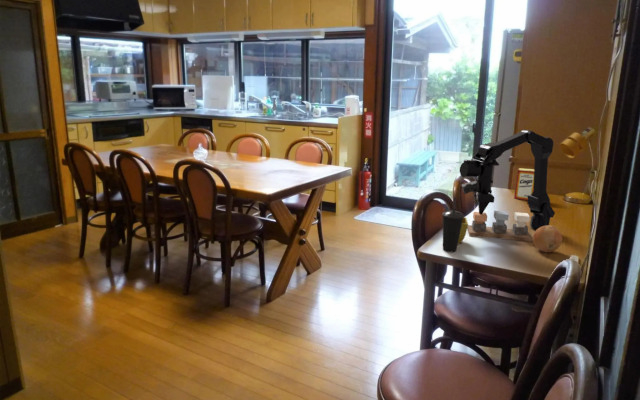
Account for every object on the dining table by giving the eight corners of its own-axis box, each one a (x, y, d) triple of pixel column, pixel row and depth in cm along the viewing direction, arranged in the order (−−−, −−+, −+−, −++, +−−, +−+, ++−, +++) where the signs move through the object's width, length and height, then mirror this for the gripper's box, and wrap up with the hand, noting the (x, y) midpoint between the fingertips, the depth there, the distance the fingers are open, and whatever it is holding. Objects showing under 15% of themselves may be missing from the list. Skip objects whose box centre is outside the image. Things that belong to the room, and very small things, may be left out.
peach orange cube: (484, 225, 197) (485, 212, 196) (485, 228, 192) (487, 215, 191) (472, 224, 198) (473, 211, 197) (473, 227, 193) (475, 214, 192)
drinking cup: (436, 246, 179) (441, 194, 174) (455, 246, 179) (461, 194, 174) (442, 253, 171) (448, 200, 166) (463, 253, 172) (469, 200, 167)
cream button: (525, 225, 194) (527, 213, 192) (528, 229, 189) (530, 216, 188) (513, 224, 195) (514, 212, 193) (515, 228, 190) (517, 215, 189)
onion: (551, 246, 182) (555, 221, 180) (565, 256, 173) (569, 230, 170) (526, 246, 182) (530, 221, 179) (539, 255, 172) (543, 229, 170)
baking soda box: (514, 198, 256) (518, 169, 252) (514, 195, 261) (518, 167, 257) (533, 200, 252) (537, 171, 248) (533, 198, 258) (538, 169, 254)
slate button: (504, 224, 195) (506, 211, 194) (506, 227, 191) (508, 214, 189) (492, 223, 196) (494, 210, 195) (494, 226, 192) (496, 213, 190)
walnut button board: (526, 233, 197) (528, 223, 196) (532, 241, 188) (534, 230, 186) (466, 228, 201) (468, 218, 200) (469, 235, 192) (470, 225, 191)
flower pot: (465, 246, 180) (468, 223, 177) (441, 244, 181) (444, 221, 179) (463, 239, 188) (466, 217, 186) (441, 236, 190) (443, 215, 187)
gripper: (462, 170, 200) (458, 206, 204) (466, 179, 182) (462, 218, 186) (489, 172, 198) (485, 208, 202) (496, 181, 180) (491, 221, 184)
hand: (480, 213), depth 194 cm, fingers closed, pressing on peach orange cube
